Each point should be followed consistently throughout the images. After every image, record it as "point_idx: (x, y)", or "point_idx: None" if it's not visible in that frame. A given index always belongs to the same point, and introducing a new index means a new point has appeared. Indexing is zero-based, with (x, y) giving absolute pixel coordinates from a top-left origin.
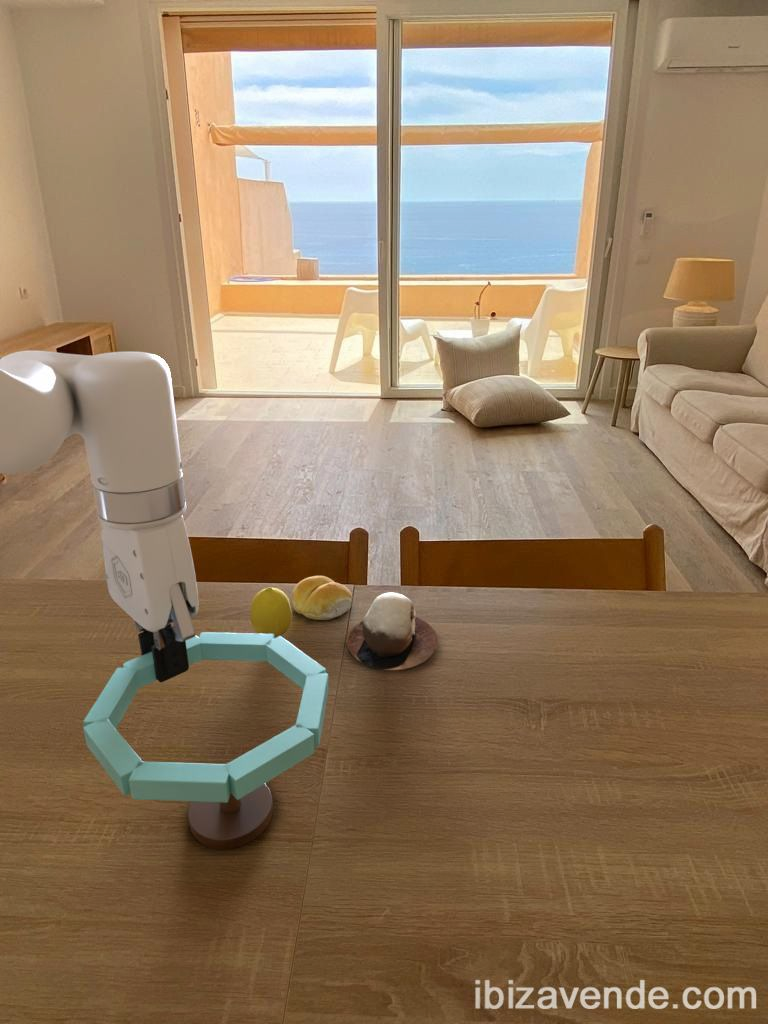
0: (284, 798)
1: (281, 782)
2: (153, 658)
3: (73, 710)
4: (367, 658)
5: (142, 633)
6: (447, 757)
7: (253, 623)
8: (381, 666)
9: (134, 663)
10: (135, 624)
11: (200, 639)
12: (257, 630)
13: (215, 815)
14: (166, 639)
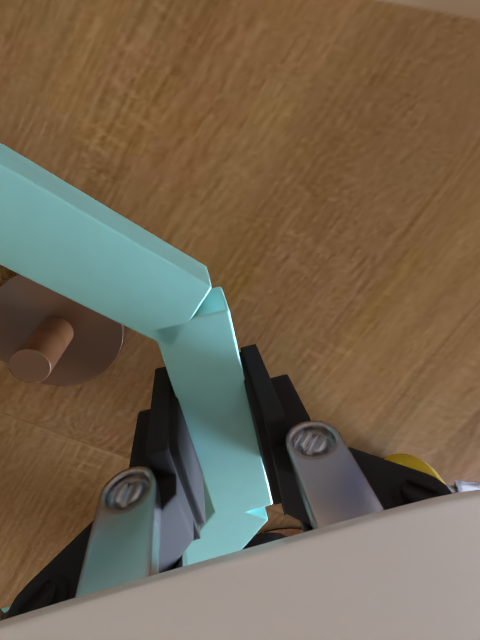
0: (63, 391)
1: (95, 395)
2: (163, 414)
3: (435, 150)
4: (266, 540)
5: (279, 432)
6: (50, 560)
7: (410, 466)
8: (243, 548)
9: (206, 343)
10: (334, 431)
11: (232, 515)
12: (397, 461)
13: (44, 307)
14: (83, 553)
